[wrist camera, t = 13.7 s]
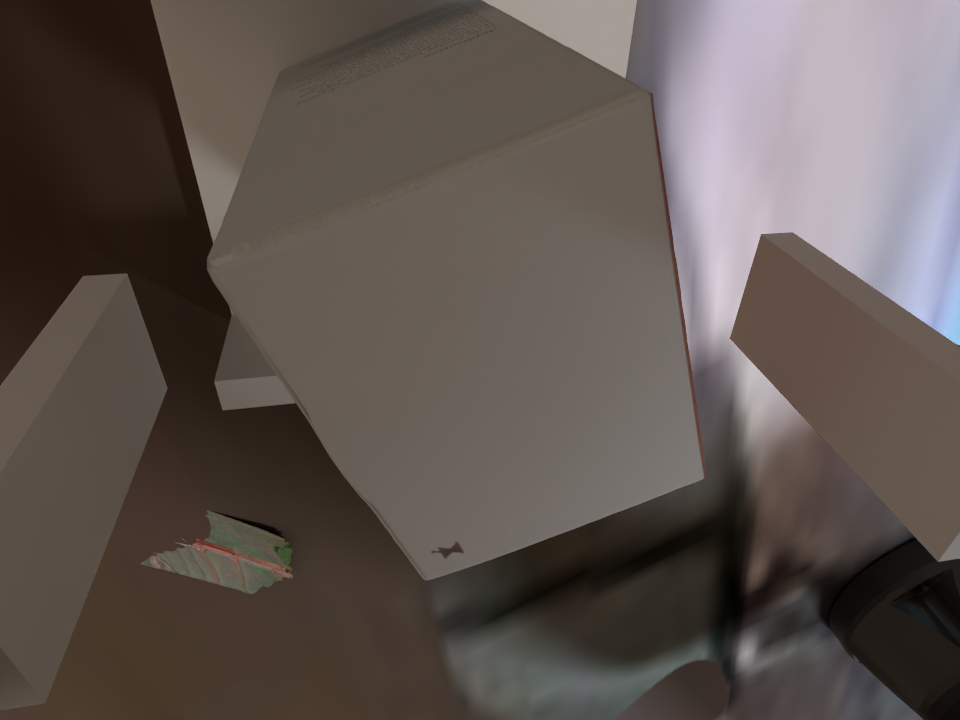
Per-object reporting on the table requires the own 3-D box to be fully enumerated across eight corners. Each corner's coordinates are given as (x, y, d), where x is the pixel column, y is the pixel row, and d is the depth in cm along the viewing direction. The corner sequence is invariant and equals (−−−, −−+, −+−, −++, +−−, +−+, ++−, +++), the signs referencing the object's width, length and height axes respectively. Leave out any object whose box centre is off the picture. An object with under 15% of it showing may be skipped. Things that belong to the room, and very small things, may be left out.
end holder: (636, -87, 18) (718, -88, 14) (583, 300, 26) (627, 369, 22) (135, -100, 16) (68, -104, 12) (241, 328, 24) (222, 410, 20)
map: (274, 588, 34) (272, 603, 33) (-210, 478, 25) (-228, 496, 24) (316, 533, 32) (315, 548, 31) (-193, 392, 23) (-211, 408, 22)
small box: (542, 225, 23) (714, 486, 12) (383, 287, 23) (421, 594, 13) (473, -17, 18) (661, 80, 7) (272, 65, 18) (184, 271, 8)
